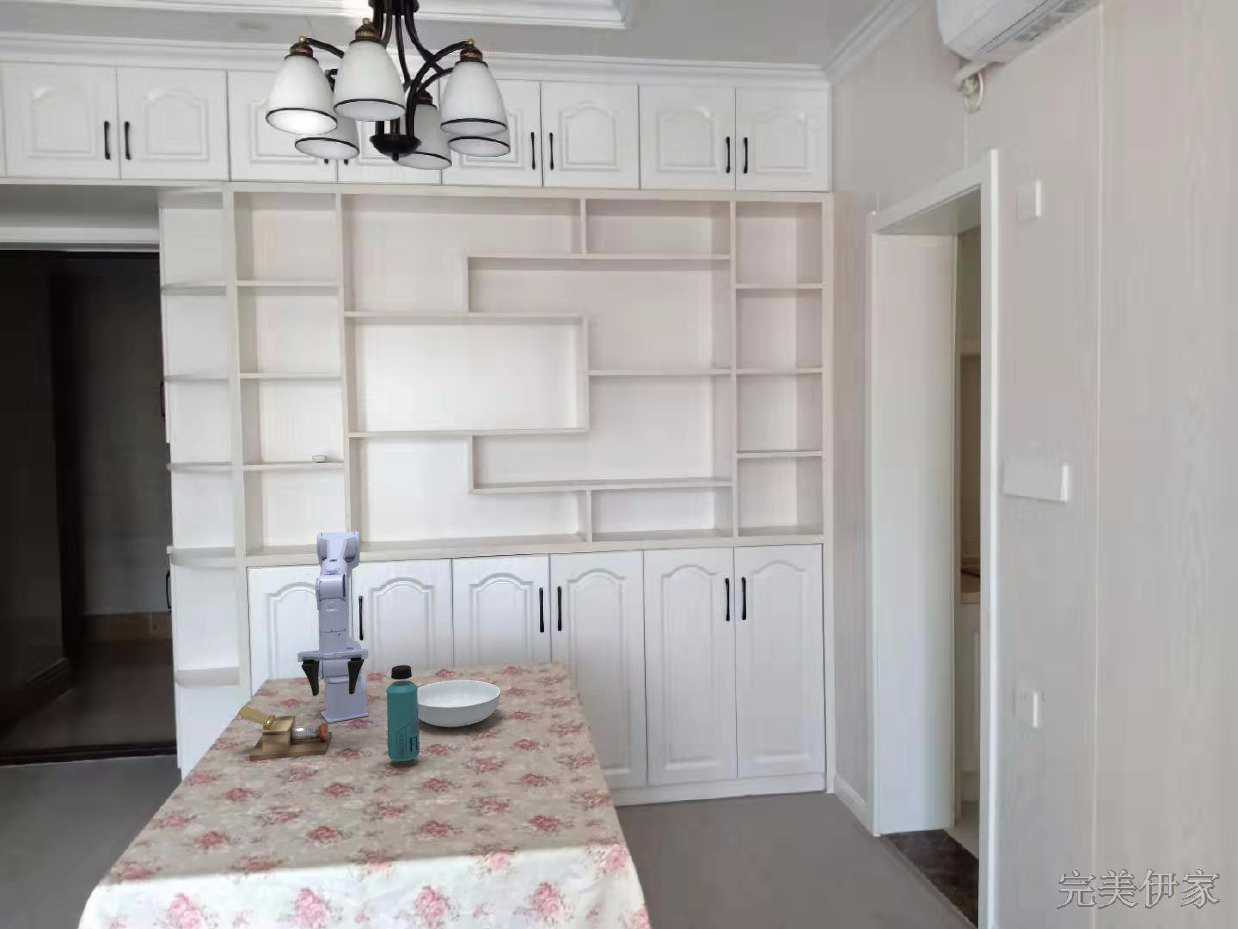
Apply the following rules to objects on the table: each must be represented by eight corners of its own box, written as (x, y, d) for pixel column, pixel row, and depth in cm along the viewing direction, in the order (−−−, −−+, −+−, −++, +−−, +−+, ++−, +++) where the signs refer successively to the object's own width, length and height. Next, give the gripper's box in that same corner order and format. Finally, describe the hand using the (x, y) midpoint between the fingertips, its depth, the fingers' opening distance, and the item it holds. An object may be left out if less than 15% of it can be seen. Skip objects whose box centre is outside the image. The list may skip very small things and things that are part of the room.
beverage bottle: (412, 770, 174) (409, 672, 173) (381, 767, 175) (379, 670, 174) (425, 757, 180) (423, 663, 179) (396, 755, 181) (393, 661, 180)
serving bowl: (493, 737, 191) (492, 706, 191) (399, 737, 192) (398, 707, 192) (507, 706, 212) (506, 678, 212) (422, 706, 213) (422, 679, 212)
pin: (328, 737, 189) (328, 719, 189) (326, 743, 185) (325, 725, 185) (279, 740, 187) (279, 723, 187) (276, 747, 184) (275, 729, 183)
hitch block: (331, 736, 193) (331, 707, 193) (325, 754, 182) (324, 724, 182) (260, 741, 190) (259, 712, 190) (249, 760, 179) (248, 729, 179)
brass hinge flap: (272, 721, 187) (274, 717, 187) (268, 728, 183) (270, 723, 183) (241, 708, 186) (243, 704, 186) (236, 715, 181) (238, 711, 181)
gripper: (292, 634, 181) (293, 699, 181) (362, 631, 182) (363, 696, 181) (303, 629, 188) (304, 692, 188) (370, 627, 189) (371, 689, 188)
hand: (333, 694), depth 185 cm, fingers open, 7 cm apart
